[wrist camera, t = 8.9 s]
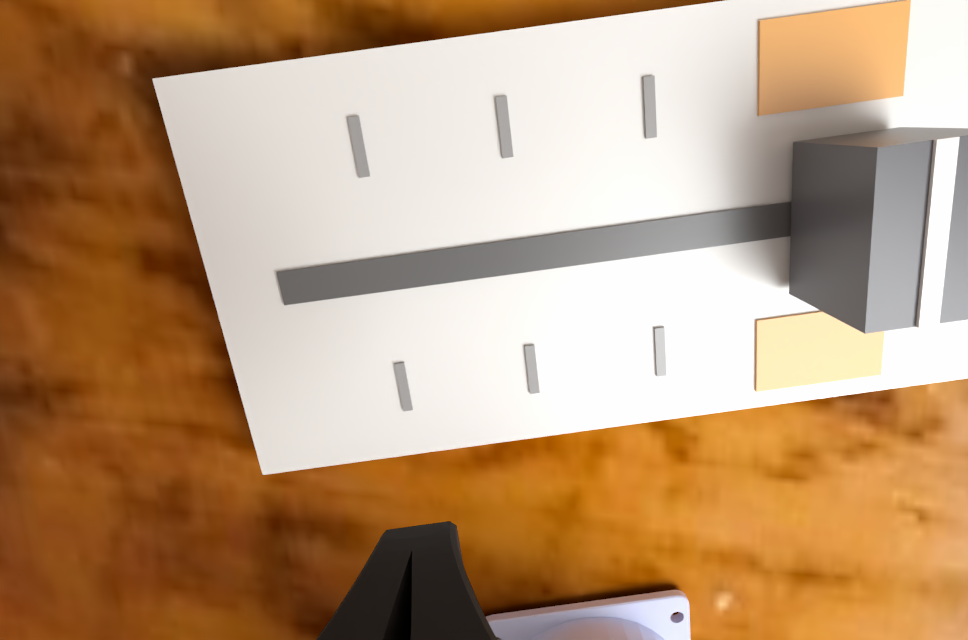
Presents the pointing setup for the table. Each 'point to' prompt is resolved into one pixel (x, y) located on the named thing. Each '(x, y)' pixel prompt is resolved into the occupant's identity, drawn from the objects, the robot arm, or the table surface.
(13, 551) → the table surface
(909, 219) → the fader
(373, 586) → the robot arm
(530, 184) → the panel
